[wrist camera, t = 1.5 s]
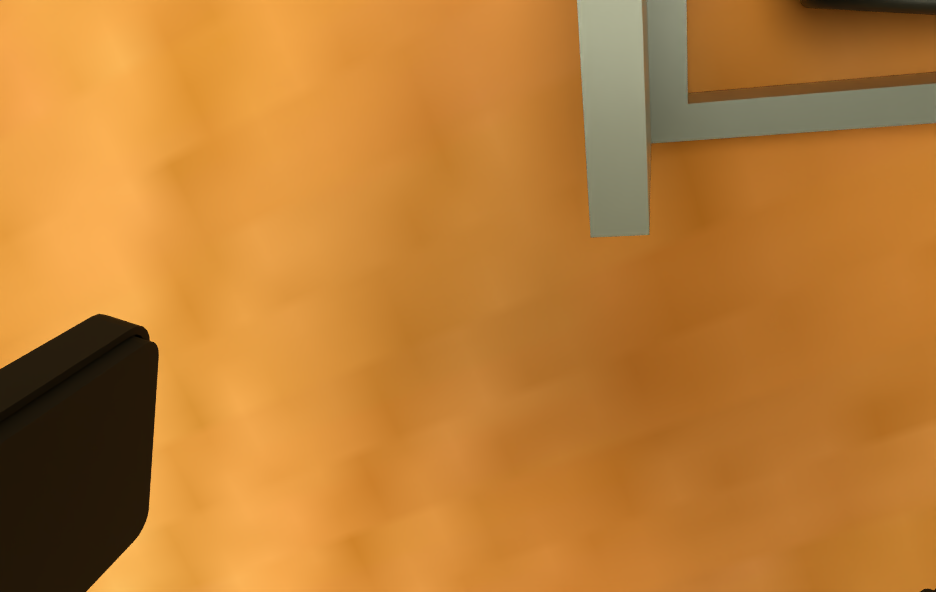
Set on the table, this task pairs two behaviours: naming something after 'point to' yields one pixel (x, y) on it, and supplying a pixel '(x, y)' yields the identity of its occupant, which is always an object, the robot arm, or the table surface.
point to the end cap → (876, 5)
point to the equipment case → (697, 104)
